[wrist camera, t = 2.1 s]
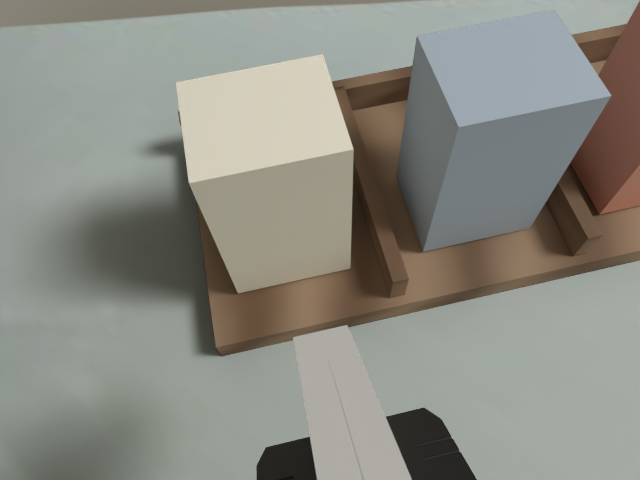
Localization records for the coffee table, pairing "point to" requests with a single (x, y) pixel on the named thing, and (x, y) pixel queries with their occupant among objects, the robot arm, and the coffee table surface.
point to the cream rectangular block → (271, 170)
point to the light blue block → (492, 125)
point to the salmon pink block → (615, 130)
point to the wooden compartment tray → (402, 242)
